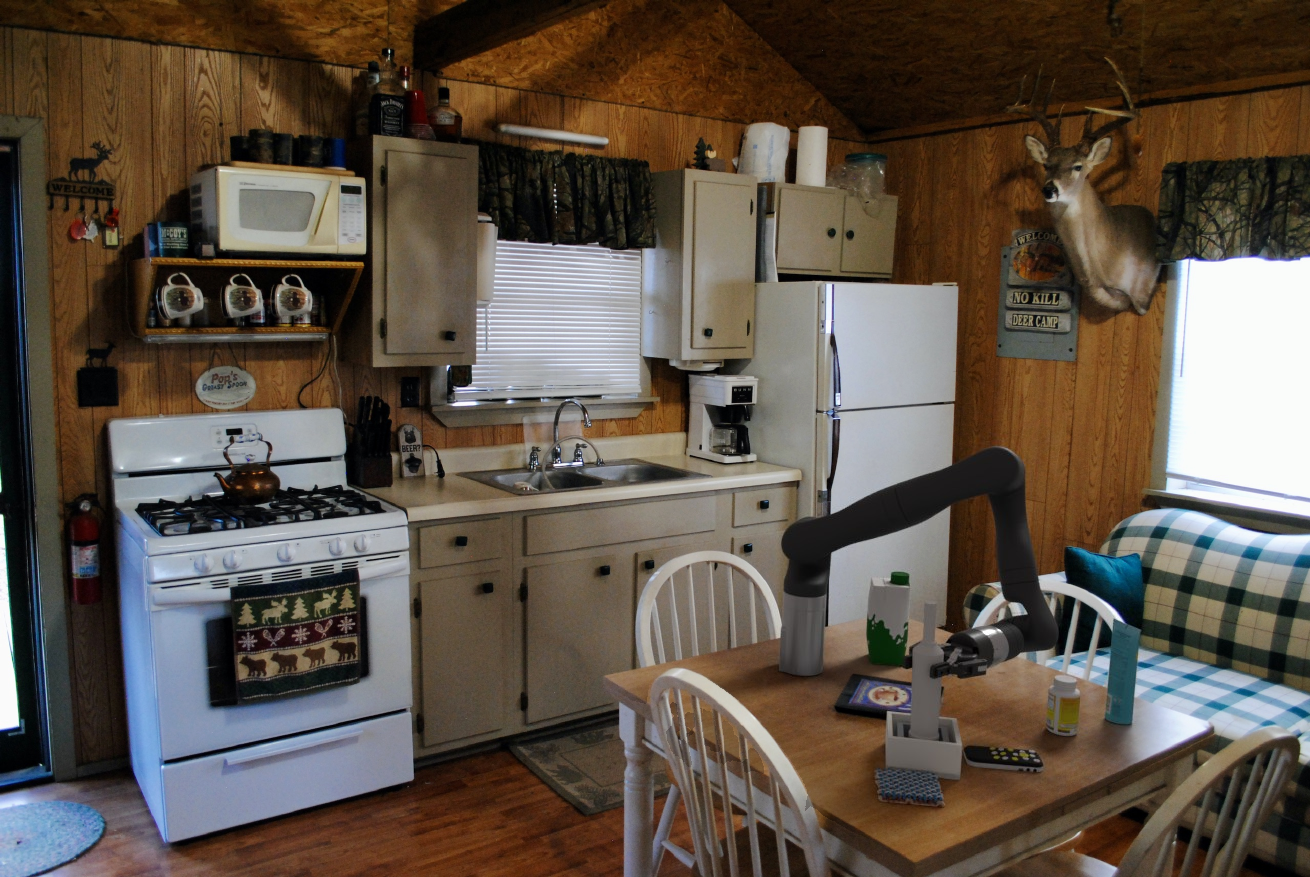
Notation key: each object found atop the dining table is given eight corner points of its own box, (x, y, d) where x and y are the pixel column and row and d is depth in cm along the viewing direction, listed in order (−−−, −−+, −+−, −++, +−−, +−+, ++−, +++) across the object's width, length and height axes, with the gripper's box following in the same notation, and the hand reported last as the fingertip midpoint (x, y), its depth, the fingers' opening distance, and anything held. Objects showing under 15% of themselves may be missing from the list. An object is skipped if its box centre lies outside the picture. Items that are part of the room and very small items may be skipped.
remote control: (961, 753, 180) (962, 742, 179) (1036, 759, 178) (1037, 748, 178) (967, 768, 173) (968, 757, 173) (1044, 775, 172) (1045, 763, 172)
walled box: (885, 771, 170) (887, 737, 170) (885, 742, 182) (887, 710, 181) (959, 780, 168) (962, 745, 167) (954, 750, 180) (956, 718, 179)
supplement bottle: (1083, 732, 189) (1087, 679, 188) (1067, 739, 186) (1072, 686, 185) (1055, 722, 194) (1059, 671, 193) (1039, 729, 190) (1043, 677, 189)
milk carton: (908, 667, 223) (913, 579, 220) (866, 664, 224) (871, 576, 222) (903, 655, 231) (909, 569, 229) (863, 652, 232) (868, 567, 230)
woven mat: (936, 781, 168) (937, 770, 168) (946, 811, 158) (946, 799, 158) (873, 776, 170) (873, 764, 170) (878, 805, 159) (878, 793, 159)
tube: (1142, 725, 193) (1151, 628, 191) (1123, 728, 192) (1131, 630, 190) (1113, 711, 200) (1121, 617, 198) (1093, 714, 199) (1101, 619, 196)
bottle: (939, 739, 176) (947, 600, 173) (938, 751, 171) (945, 608, 168) (909, 734, 178) (916, 596, 175) (906, 746, 173) (913, 604, 170)
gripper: (945, 619, 187) (885, 635, 176) (1014, 639, 176) (954, 658, 165) (942, 658, 188) (883, 676, 177) (1011, 681, 177) (952, 702, 166)
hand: (918, 667), depth 171 cm, fingers closed on bottle, 5 cm apart
